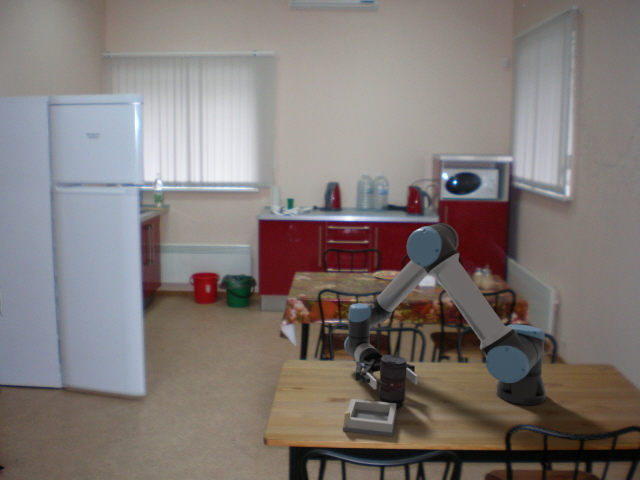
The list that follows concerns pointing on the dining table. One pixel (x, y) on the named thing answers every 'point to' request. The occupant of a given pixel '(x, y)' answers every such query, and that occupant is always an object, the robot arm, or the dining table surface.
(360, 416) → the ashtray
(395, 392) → the camera lens
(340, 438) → the dining table surface
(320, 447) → the dining table surface
